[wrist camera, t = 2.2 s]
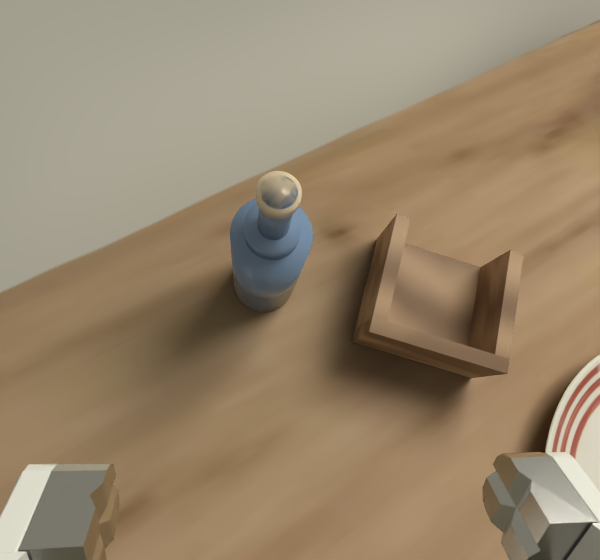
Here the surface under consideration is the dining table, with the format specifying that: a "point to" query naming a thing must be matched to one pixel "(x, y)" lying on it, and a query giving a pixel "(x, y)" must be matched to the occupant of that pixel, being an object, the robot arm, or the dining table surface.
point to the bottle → (270, 243)
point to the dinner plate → (580, 421)
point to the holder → (439, 306)
